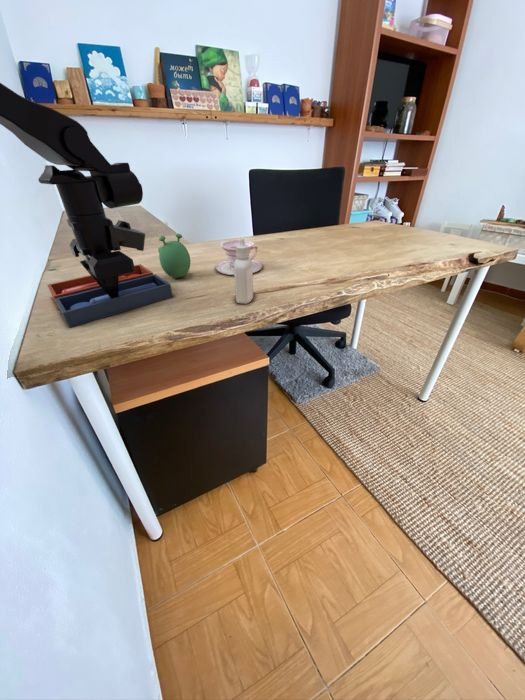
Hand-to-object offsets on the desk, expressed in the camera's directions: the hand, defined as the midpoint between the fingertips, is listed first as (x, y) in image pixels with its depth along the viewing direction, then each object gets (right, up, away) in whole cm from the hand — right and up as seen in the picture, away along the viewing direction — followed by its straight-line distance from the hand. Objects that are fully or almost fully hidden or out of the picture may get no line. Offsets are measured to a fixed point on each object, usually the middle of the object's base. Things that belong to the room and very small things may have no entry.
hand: (113, 298), depth 58 cm
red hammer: (-5, +3, +7) cm, 9 cm away
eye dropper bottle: (+26, 0, +3) cm, 26 cm away
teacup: (+23, +11, +18) cm, 32 cm away
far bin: (-5, +3, +7) cm, 9 cm away
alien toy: (+9, +8, +14) cm, 18 cm away
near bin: (0, -1, +1) cm, 2 cm away
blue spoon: (0, -1, +1) cm, 1 cm away
